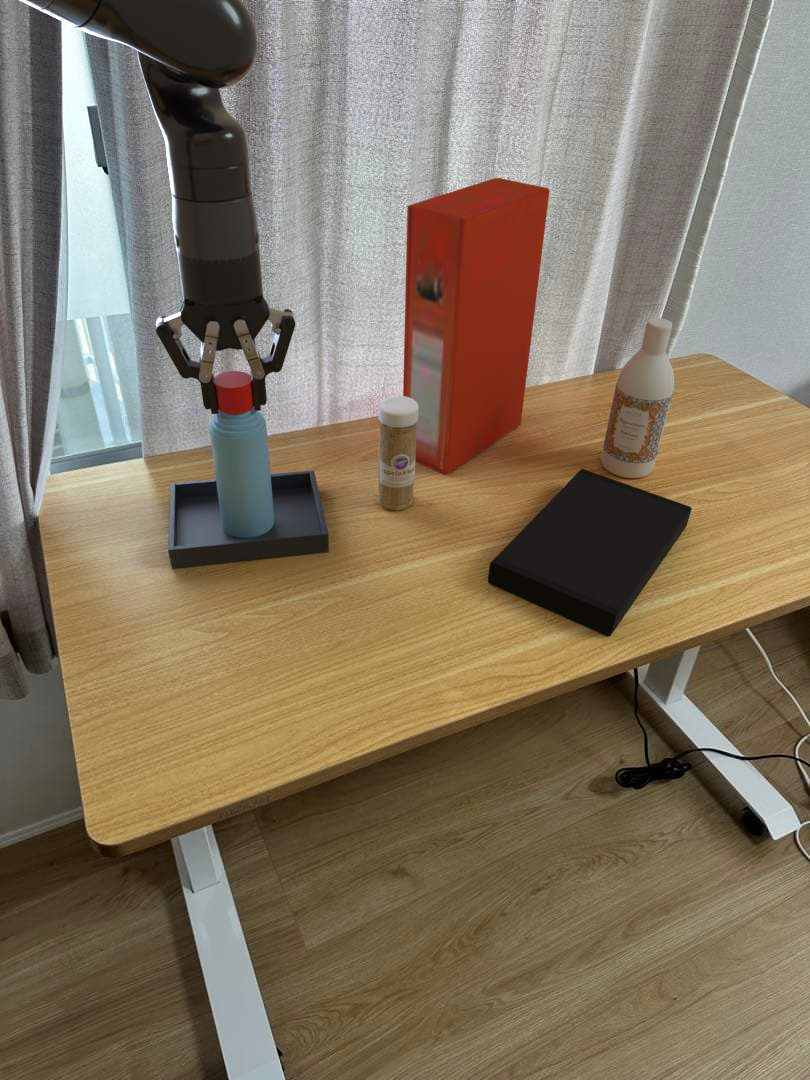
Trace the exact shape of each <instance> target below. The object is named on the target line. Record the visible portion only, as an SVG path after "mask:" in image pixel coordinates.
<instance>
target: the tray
mask: <svg viewBox="0 0 810 1080" xmlns="http://www.w3.org/2000/svg"><path fill="white" fill-rule="evenodd" d="M270 474H271V486H272V498H273V510H274V525H273V527H272V528H271V529H270V530H269V531H268V532H266V533H264V534H262V535H260V536H257V537H251V538H239V537H235V536H232V535H230V534H228V533H227V532H225V531H224V529H223V527H222V521H221V514H220V506H219V499H218V491H217V484H216V478H209V479H200V480H199V479H198V480H188V481H177V482H170V483H169V484H170V485H169V509H168V511H169V512H168V543H167V545H168V547H167V551H168V556H169V562H170V567H171V569H172V570H174V569H180V568H193V567H201V566H202V567H203V566H212V565H220V564H221V565H222V564H229V563H238V562H248V561H257V560H268V559H276V558H277V559H278V558H285V557H296V556H305V555H315V554H323V553H330V540H329V535H330V534H329V530H328V526H327V522H326V517H325V512H324V508H323V504H322V499H321V495H320V490H319V486H318V481H317V477H316V473H315V470H304V471H303V470H302V471H292V472H291V471H290V472H278V473H270Z"/></svg>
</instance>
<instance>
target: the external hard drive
mask: <svg viewBox="0 0 810 1080" xmlns="http://www.w3.org/2000/svg"><path fill="white" fill-rule="evenodd" d="M692 510H693V509H692V507H691V506H689V505H686V504H684V503H681V502H678V501H675V500H673V499H669V498H667V497H664V496H661V495H659V494H655V493H653V492H649V491H647V490H644V489H641V488H639V487H636V486H633V485H630V484H628V483H624V482H621V481H619V480H616V479H613V478H610V477H608V476H605V475H602V474H599V473H596V472H593V471H591V470H588V469H584V468H581V469H579V471H578V472H577V473H575V475H573V477H572V478H571V479H570V480H569V481H568V482H567V483H566V484H565V485H564V486H563V487H562V488H561V489H560V490H559V491H558V492H557V493H556V494H555V496H553V498H552V499H550V501H548V502H547V504H546V505H545V506H543V508H542V509H541V510H540V511H539V512H538V513H537V514H536V515H535V516H534V517H533V518H532V519H531V520H530V521H529V522H528V523H527V525H525V526H524V527H523V528H522V529H521V530H520V531H519V533H517V534H516V536H515V537H513V539H512V540H511V541H510V542H508V544H507V545H506V546H504V548H502V550H501V551H500V552H499V553H498V554H497V555H496V556H495V557H494V558H493V559H492V560H491V561H490V562H489V567H488V575H487V576H488V577H487V583H488V584H489V585H490V586H494V587H496V588H498V589H500V590H503V591H504V592H507V593H509V594H511V595H514V596H515V597H518V598H520V599H523V600H525V601H527V602H530V603H531V604H534V605H537V606H539V607H541V608H543V609H545V610H548V611H550V612H552V613H554V614H556V615H559V616H561V617H563V618H566V619H567V620H570V621H572V622H574V623H577V624H579V625H582V626H583V627H586V628H588V629H590V630H593V631H594V632H597V633H598V634H599V633H600V634H601V635H604V636H606V637H611V636H612V635H613V633H614V632H615V630H616V629H617V627H618V626H619V624H621V622H622V621H623V619H624V617H625V616H626V615H627V613H628V612H629V610H630V609H631V607H632V606H633V604H634V603H635V602H636V600H637V598H638V597H639V596H640V595H641V593H642V591H643V590H644V588H645V587H646V586H647V584H648V583H649V582H650V580H651V579H652V577H653V575H654V574H655V573H656V571H657V570H658V568H659V567H660V566H661V564H662V562H663V561H664V559H665V558H666V557H667V555H669V552H670V551H671V549H672V548H673V547H674V545H675V544H676V542H677V541H678V539H679V538H680V536H681V535H682V534H683V532H684V531H685V529H686V527H687V526H688V523H689V519H690V516H691V513H692Z"/></svg>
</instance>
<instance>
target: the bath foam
mask: <svg viewBox="0 0 810 1080" xmlns="http://www.w3.org/2000/svg"><path fill="white" fill-rule="evenodd" d="M672 328H673V322H672V321H670V320H668V319H666V318H663V317H651V318H649V319H648V320H647V321H646V325H645V329H644V332H643V333H644V334H643V338H642V343H641V347H640V349H639V350H638V351H637V352H636V353H634V355H632V357H630V359H629V360H628V361H626V363H625V364H624V365H623V367H622V369H621V370H620V372H619V375H618V378H617V381H616V384H615V389H614V392H613V393H614V394H613V398H612V402H611V403H612V404H611V407H610V412H609V417H608V422H607V426H606V431H605V436H604V441H603V447H602V452H601V457H600V462H601V464H602V466H603V468H604V469H605V470H606V471H608V472H609V473H610V474H612V475H614V476H617V477H619V478H620V477H621V478H625V479H641V478H644V477H647V476H649V475H651V473H652V472H653V470H654V469H655V465H656V461H657V459H658V455H659V450H660V446H661V443H662V439H663V435H664V430H665V428H666V427H665V426H666V423H667V419H668V415H669V411H670V408H671V404H672V400H673V396H674V393H675V392H674V391H675V373H674V369H673V366H672V364H671V361H670V359H669V356H668V354H667V349H668V346H669V342H670V337H671V334H672Z"/></svg>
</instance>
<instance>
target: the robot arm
mask: <svg viewBox="0 0 810 1080" xmlns="http://www.w3.org/2000/svg"><path fill="white" fill-rule="evenodd" d="M19 1H20V2H22V3H24V4H26V5H28V6H30V7H32V8H34V9H37V10H38V11H40V12H42V13H45V14H47V15H49V16H51V17H53V18H55V19H56V20H59V21H61V22H63V23H65V24H67V25H69V26H71V27H73V28H74V29H78V30H79V31H82V32H84V33H87V34H89V35H92V36H95V37H97V38H101V39H104V40H109V41H113V42H116V43H120V44H123V45H126V46H128V47H130V48H132V49H134V50H136V55H137V59H138V63H139V67H140V71H141V74H142V78H143V81H144V83H145V86H146V87H145V88H146V90H147V93H148V95H149V99H150V102H151V105H152V109H153V112H154V114H155V117H156V120H157V122H158V125H159V128H160V130H161V133H162V136H163V139H164V143H165V153H166V162H167V168H168V176H169V177H168V178H169V184H170V193H171V205H172V206H171V207H172V208H171V212H172V213H171V214H172V216H171V217H172V218H171V219H172V226H173V241H174V245H175V248H176V254H177V255H176V257H177V263H178V271H179V276H180V277H179V278H180V283H181V292H182V299H183V300H182V304H181V307H180V311H179V312H177V313H174V314H172V315H169V316H166V315H159V316H158V317H157V318H156V323H155V328H156V329H155V332H156V335H157V337H158V339H159V340H160V342H161V343H162V345H163V348H164V349H165V350H166V353H167V354H168V356H169V358H170V360H171V362H172V364H173V365H174V367H175V368H176V370H177V372H178V374H179V375H180V377H181V378H182V379H185V380H186V379H187V380H188V379H190V378H191V379H195V380H197V381H198V382H199V384H200V392H201V398H202V406H203V407H204V409H205V410H210V413H211V415H214V414H218V408H217V400H216V392H215V384H214V378H215V373H213V369H214V364H215V358H216V352H221V351H225V350H227V349H232V350H237V351H238V350H241V351H243V354H244V357H245V359H246V361H247V363H248V366H249V369H250V370H249V371H250V376H251V380H252V390H253V401H254V411H259V412H260V411H262V407H261V406H266V404H267V403H268V397H267V386H266V385H267V384H266V378H267V376H268V375H270V374H272V373H279V372H281V371H282V370H283V366H284V364H285V360H286V358H287V354H288V350H289V347H290V344H291V341H292V338H293V334H294V332H295V328H296V320H295V316H294V312H293V311H292V310H291V309H290V308H285V309H283V310H279V309H275V308H271V307H270V306H269V303H268V302H267V300H266V299H265V297H264V290H263V279H262V278H263V277H262V265H261V254H260V253H261V251H260V239H261V238H260V233H259V229H258V228H259V226H258V217H257V216H258V215H257V212H256V211H257V210H256V207H255V201H254V197H253V186H252V177H251V163H250V162H251V161H250V150H249V149H250V148H249V142H248V137H247V133H246V131H245V129H244V127H243V125H242V124H241V123H240V122H239V121H238V120H237V119H236V118H234V117H233V116H232V115H231V114H230V113H229V112H228V111H227V109H226V107H225V106H224V102H223V98H222V93H221V90H220V89H226V88H231V87H233V86H235V85H237V84H239V83H240V82H242V81H243V80H244V79H245V78H246V77H247V76H248V75H249V73H250V72H251V71H252V69H253V67H254V65H255V64H256V63H255V62H256V59H257V55H258V47H259V46H258V33H257V30H256V26H255V23H254V20H253V17H252V16H251V14H250V12H249V10H248V9H247V7H246V6H245V4H244V2H242V1H241V0H19ZM267 321H269V322H270V324H271V325H270V326H271V331H272V332H273V333H274V336H273V340H272V342H271V345H270V348H269V349H270V350H269V351H268V352H269V353H268V355H267V356H263V357H262V356H261V353H260V350H259V347H258V343H257V341H256V338H257V337H258V335H259V333H260V332H261V330H262V329H263V328H264V326H265V324H266V323H267ZM182 326H185V327H186V328H187V329H188V330H189V331H190V332H191V333H192V334H193V335H194V336H195V337H196V338H197V339H198V340H199V341H200V342H201V345H200V353H199V360H198V361H196V360H192V358H191V357H190V355H189V354H188V352H187V350H186V348H185V346H184V344H183V342H182V341H181V339H180V338H181V337H182V333H183V329H182Z"/></svg>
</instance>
